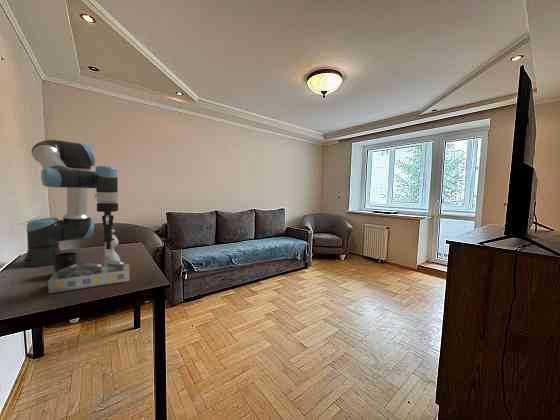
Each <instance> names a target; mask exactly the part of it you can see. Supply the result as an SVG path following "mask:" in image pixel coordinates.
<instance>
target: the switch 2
mask: <svg viewBox="0 0 560 420" xmlns="http://www.w3.org/2000/svg"><path fill="white" fill-rule="evenodd" d="M102 267H103V264H99V263H91V262H90V263H89V262H85V264H84V265H83V268H82V269H83V270H88V271H100V272H101V268H102Z"/></svg>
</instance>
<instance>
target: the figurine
mask: <svg viewBox="0 0 560 420" xmlns="http://www.w3.org/2000/svg"><path fill="white" fill-rule="evenodd" d="M115 231H116V230H115V229H113V228H112V239H114V240H112V248H113V256H108V257H105V256H104V258H103V261H102V267H107V264H108V261H118V262H122V261H121V258H120V256H119V254H118V253H117V252H116V251H115V248H116V247H117V246H118V245H119V239H118V238H117V237H116V235H115V234H113V233H115Z"/></svg>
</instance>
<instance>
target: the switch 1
mask: <svg viewBox="0 0 560 420" xmlns="http://www.w3.org/2000/svg"><path fill="white" fill-rule="evenodd" d="M79 269H80V266H79V264H78V263H76V264H75V265H72V266H69V267H66V268H63V269H61V270H59V271H58V272H57V276H58V277H60V276H63V275H66V274H69V273H71V272H74V271H77V270H79Z"/></svg>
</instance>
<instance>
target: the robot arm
mask: <svg viewBox="0 0 560 420" xmlns="http://www.w3.org/2000/svg"><path fill="white" fill-rule="evenodd" d="M31 155H32V157H33V159H34V160H35V161H36V162H38V163H39V164H40V166H41V167H42V169H41V171H40V172H41V173H40V175H41V176H40V177H41V178H40V179H41V184H42V186H44V187H46V188H47V187H49V188H54V189H55V188H58V189H59V188H66V213H65V214H64V215H63V217H62V218H63V219H59V217H45V218H39V219H38V218H37V219H34V220H30V221H28V222H27V223H26V231H25V232H26V235H27V236H26V238H27V251H26V254H25V256H24V258H23V263H22V264H23V266H24V267H29V268H31V267H34V268H35V267H44V266H50V265H51V266H52V265H53V257H52V256H53V255H55V254H59V253H63V252H62V250H61V248H60V245H59V244H60V242H65V241H66V242H67V241H73V240H74V241H75V240H76V241H77V240H83V239H88V238H90V237H92V236H93V234H94V229H95V220H94V219H93V218H91V216H90V215H89V213H88V189H95V192H96V193H95V194H94V197H95V198H96V211H97V212H99V213H103V215H101V220H102V226H103V232H104V233H103V234H104V235H103V240H102V243H104V258H105V257H108V256H113V248H112V240H114V239H112V235H113V233H112V229H113V225H114V215H112V212H113V213H114V212H118V211H119V203H118V202H119V192H118V191H119V189H118V188H119V187H118V184H119V183H118V181H119V179H118V177H119V175H118V169H117V167H116V166H109V165H97V166H96V167H95V170H94V171H92V170H91V169H92V167H94V166H95V165H96V156H95V152H94V149H93V147H91V146H90V145H88V144H86V143H81V142H80V143H79V142H71V141H65V140H64V141H63V140H58V139H47V140H41V141H39V142H37V143H36V144H34V146H32V148H31Z"/></svg>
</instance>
